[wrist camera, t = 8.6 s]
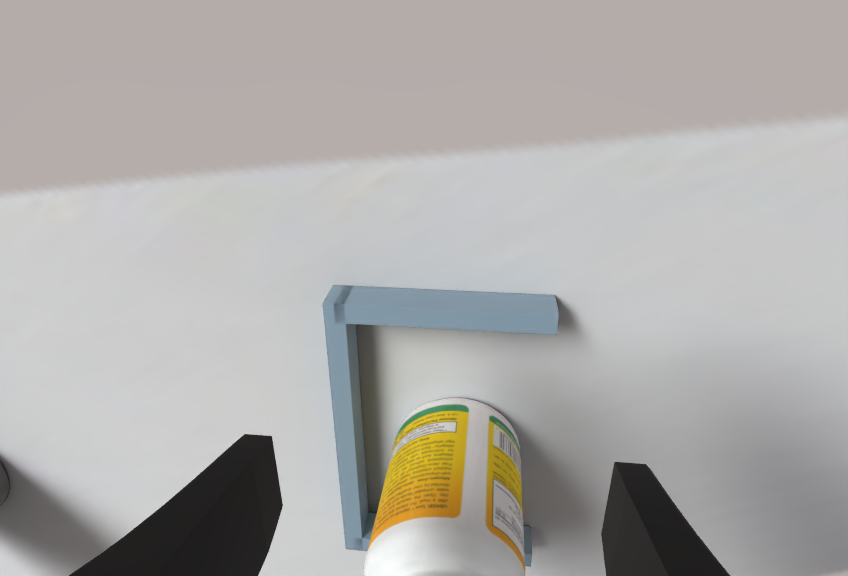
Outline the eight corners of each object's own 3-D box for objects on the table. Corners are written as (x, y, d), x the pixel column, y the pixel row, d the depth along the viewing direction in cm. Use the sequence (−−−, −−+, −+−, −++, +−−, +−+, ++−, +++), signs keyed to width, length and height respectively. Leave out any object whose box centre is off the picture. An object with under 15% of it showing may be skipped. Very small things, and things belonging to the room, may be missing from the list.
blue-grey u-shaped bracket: (555, 295, 21) (558, 314, 20) (528, 538, 27) (530, 566, 26) (333, 285, 22) (322, 303, 21) (353, 523, 28) (345, 549, 26)
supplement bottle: (540, 419, 24) (565, 651, 15) (490, 503, 26) (487, 745, 18) (419, 374, 24) (375, 586, 15) (379, 464, 26) (322, 690, 17)
